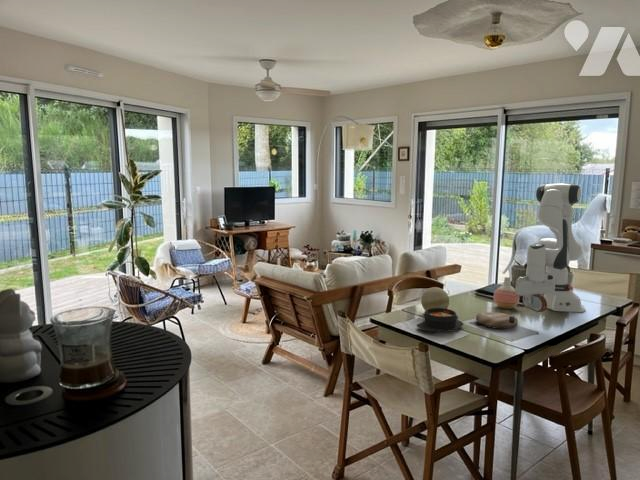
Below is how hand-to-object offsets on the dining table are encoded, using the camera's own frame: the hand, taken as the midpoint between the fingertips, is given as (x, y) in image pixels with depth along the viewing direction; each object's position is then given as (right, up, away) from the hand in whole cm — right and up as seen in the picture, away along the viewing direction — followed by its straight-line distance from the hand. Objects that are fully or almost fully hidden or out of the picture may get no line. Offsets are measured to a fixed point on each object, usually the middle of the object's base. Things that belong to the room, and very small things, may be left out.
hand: (534, 302), depth 242 cm
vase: (-2, -7, +32) cm, 33 cm away
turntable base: (-17, -12, +5) cm, 21 cm away
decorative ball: (-45, -9, +22) cm, 51 cm away
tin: (0, -4, +1) cm, 4 cm away
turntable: (-17, -10, +5) cm, 20 cm away
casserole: (-48, -13, -1) cm, 49 cm away
